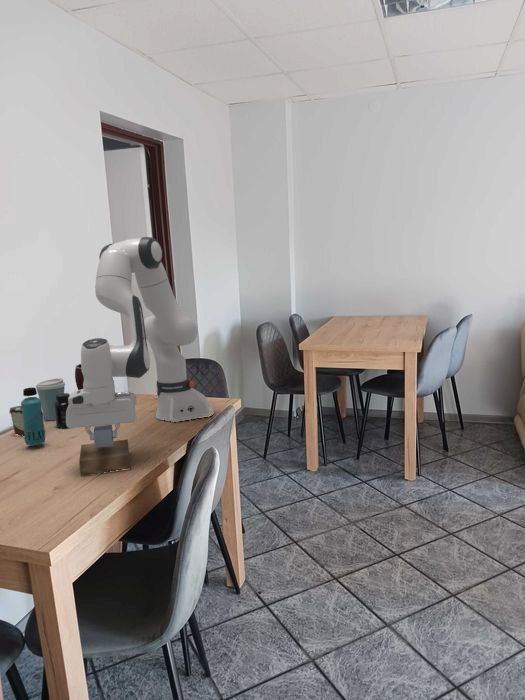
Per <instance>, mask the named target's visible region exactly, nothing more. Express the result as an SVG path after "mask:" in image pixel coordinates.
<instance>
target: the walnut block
mask: <svg viewBox="0 0 525 700" xmlns="http://www.w3.org/2000/svg"><path fill="white" fill-rule="evenodd" d="M130 457H131V456H130V448H129V440H128V439H120V440H119V439H118V440H113V446H106V447H96V448H95V442H93V443H84V444H81V445H80V454H79V461H78V462H79V463H78V465H79V473H80V477H83V476H82V475H88V476H92V475H91V474H95V475H99V474H98V473H103V474H105V473H104V472H110V471H116V470H122V469H129V468H130V469H131V458H130ZM110 473H111V472H110Z"/></svg>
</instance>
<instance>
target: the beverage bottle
mask: <svg viewBox="0 0 525 700" xmlns="http://www.w3.org/2000/svg"><path fill="white" fill-rule="evenodd" d="M22 392H23V393H22V395H23V397H26V398H23V399H22V401H21V402H20V406H21V407H22V415H23V423H24V429H23V430H24V435H25V437H24V442H25V443H24V444H26V445H27V446H36V445H41V444H44V443H45V441H46V430H45V423H44V414H43V410H42V406H41V400H40V399H39V397H37V396H36V395H38V392H37V388H36V387H26V388H23V391H22Z"/></svg>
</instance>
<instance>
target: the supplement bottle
mask: <svg viewBox="0 0 525 700" xmlns="http://www.w3.org/2000/svg"><path fill="white" fill-rule="evenodd" d="M70 395H71V393H68V392H64V393H62V394H58V395H56V401H57V402H56V403H55V404H54V410H55V419H56V420H55V424H56V428H58V429H68V427H67V426H66V410H67V407H68V405H69V403H68V398H69V396H70Z"/></svg>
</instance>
